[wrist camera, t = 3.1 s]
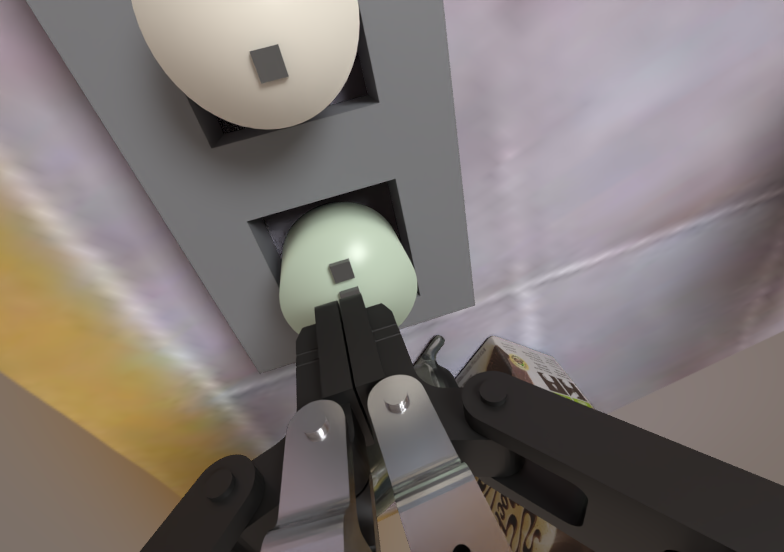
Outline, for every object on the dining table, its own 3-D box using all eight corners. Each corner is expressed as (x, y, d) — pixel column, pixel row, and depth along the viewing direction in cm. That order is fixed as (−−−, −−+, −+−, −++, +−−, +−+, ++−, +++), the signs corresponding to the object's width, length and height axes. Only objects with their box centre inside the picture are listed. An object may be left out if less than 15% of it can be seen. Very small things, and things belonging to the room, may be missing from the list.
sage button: (262, 222, 14) (254, 262, 11) (385, 186, 14) (404, 217, 12) (306, 317, 17) (307, 367, 14) (408, 285, 17) (428, 328, 15)
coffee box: (487, 331, 23) (750, 721, 10) (554, 355, 26) (830, 684, 12) (414, 424, 26) (534, 808, 13) (480, 436, 29) (635, 764, 16)
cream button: (129, -69, 9) (63, -115, 7) (316, -112, 10) (323, -171, 7) (220, 130, 12) (199, 152, 10) (363, 91, 13) (380, 103, 10)
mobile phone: (361, 547, 25) (499, 407, 19) (321, 546, 23) (455, 395, 18) (353, 475, 29) (464, 341, 23) (318, 470, 27) (426, 328, 22)
